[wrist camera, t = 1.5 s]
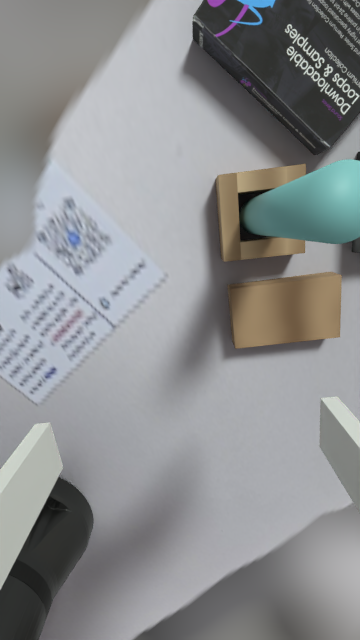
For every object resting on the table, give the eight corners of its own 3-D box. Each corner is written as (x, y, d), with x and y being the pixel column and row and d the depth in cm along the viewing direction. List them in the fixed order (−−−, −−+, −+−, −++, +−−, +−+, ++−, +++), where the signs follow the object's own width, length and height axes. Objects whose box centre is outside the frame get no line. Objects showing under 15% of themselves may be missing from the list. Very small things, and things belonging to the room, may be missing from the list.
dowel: (239, 236, 28) (302, 248, 13) (238, 199, 27) (302, 165, 12) (274, 232, 28) (379, 239, 12) (273, 195, 27) (387, 154, 11)
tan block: (231, 339, 32) (235, 348, 29) (226, 284, 30) (230, 289, 27) (328, 328, 31) (339, 337, 28) (329, 271, 29) (341, 275, 27)
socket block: (221, 258, 29) (224, 261, 26) (215, 179, 26) (218, 175, 24) (295, 250, 28) (305, 252, 26) (295, 169, 26) (305, 163, 24)
